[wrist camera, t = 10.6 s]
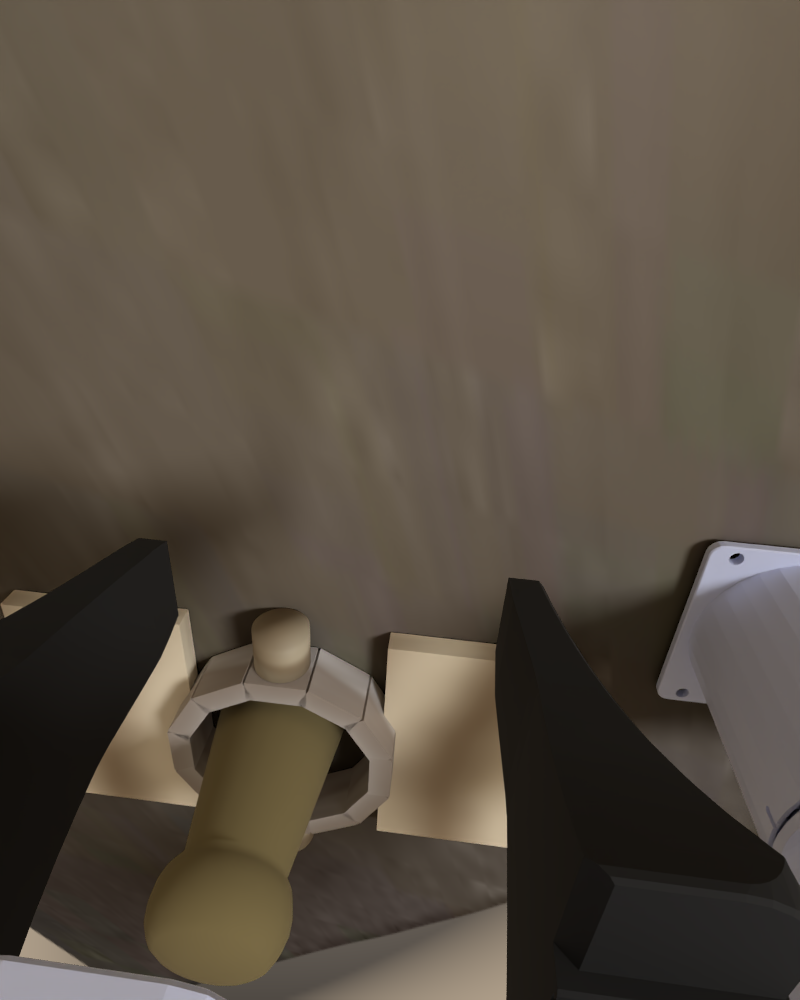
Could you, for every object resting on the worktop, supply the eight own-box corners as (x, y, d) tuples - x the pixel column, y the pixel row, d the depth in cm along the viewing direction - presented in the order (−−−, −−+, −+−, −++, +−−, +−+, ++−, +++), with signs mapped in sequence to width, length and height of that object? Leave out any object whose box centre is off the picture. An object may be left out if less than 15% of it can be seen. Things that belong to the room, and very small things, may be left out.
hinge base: (580, 641, 27) (589, 686, 25) (526, 839, 34) (529, 887, 32) (10, 577, 28) (-28, 614, 26) (77, 781, 36) (51, 823, 34)
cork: (262, 761, 33) (179, 1015, 24) (200, 682, 31) (79, 932, 21) (367, 739, 32) (321, 1003, 22) (310, 653, 29) (231, 911, 20)
